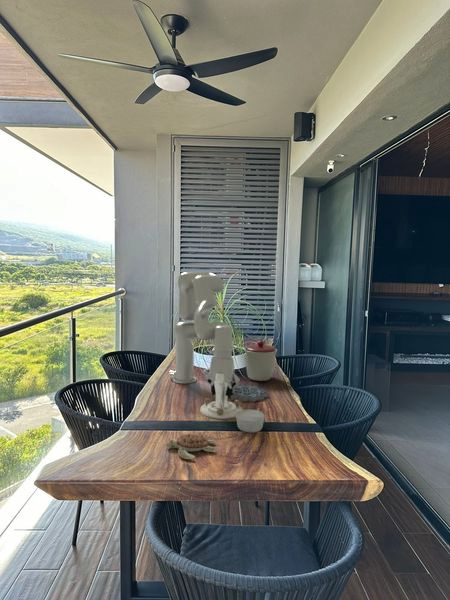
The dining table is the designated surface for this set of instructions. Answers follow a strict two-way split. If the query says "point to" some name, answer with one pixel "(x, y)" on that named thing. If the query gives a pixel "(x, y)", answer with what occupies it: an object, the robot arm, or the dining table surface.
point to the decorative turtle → (190, 445)
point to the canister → (260, 361)
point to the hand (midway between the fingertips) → (221, 395)
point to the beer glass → (221, 391)
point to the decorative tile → (248, 393)
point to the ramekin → (250, 420)
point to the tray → (226, 413)
